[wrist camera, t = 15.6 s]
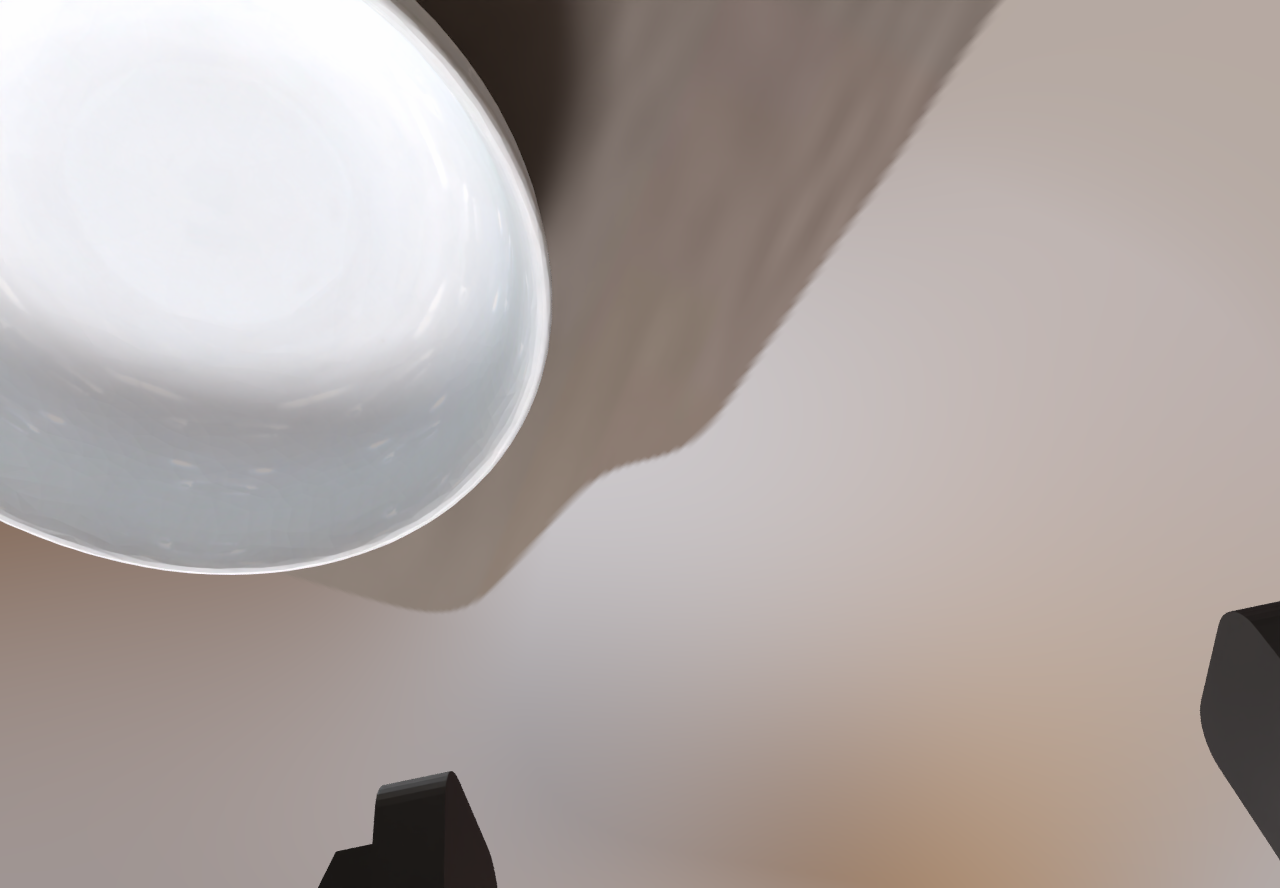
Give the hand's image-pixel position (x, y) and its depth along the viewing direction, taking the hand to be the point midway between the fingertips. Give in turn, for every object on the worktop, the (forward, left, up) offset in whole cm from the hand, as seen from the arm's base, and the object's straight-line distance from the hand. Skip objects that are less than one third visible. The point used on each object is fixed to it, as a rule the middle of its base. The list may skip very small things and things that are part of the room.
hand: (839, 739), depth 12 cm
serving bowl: (-15, -5, -26) cm, 30 cm away
